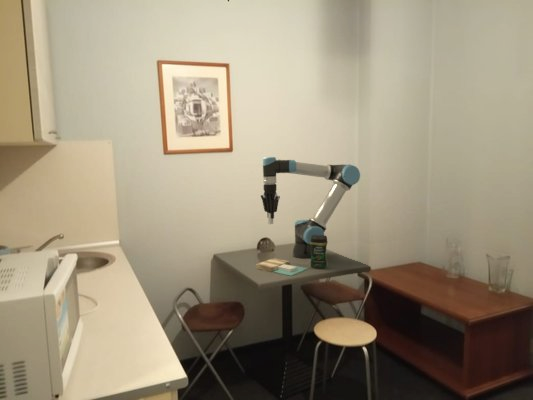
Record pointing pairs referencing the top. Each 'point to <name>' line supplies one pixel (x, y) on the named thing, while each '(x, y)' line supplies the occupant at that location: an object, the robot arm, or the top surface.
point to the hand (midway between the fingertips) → (270, 223)
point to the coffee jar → (318, 251)
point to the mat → (299, 269)
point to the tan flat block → (271, 264)
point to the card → (287, 268)
